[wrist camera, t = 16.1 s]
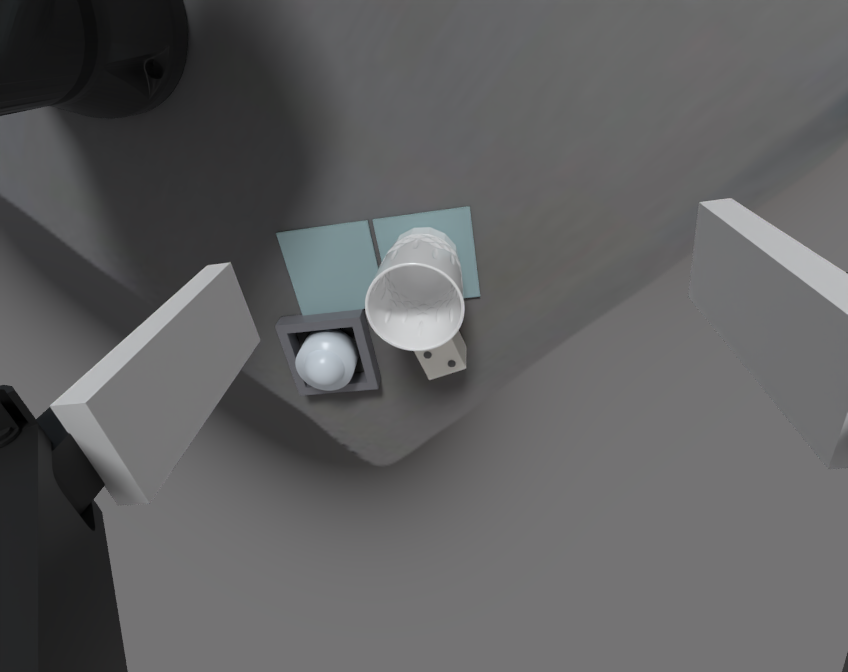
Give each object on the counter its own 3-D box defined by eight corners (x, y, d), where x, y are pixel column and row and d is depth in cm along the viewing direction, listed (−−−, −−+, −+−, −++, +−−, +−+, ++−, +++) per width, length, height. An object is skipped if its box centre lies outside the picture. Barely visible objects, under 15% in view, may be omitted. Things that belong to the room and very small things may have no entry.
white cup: (479, 239, 47) (481, 286, 38) (445, 308, 51) (440, 364, 42) (400, 206, 45) (384, 247, 37) (372, 279, 49) (352, 330, 41)
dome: (296, 330, 53) (282, 354, 49) (351, 324, 52) (341, 349, 48) (312, 376, 56) (300, 402, 52) (364, 371, 55) (355, 398, 51)
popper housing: (280, 316, 53) (274, 326, 51) (363, 307, 52) (359, 317, 50) (305, 384, 57) (299, 395, 56) (381, 378, 56) (378, 389, 54)
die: (416, 328, 52) (412, 349, 49) (451, 316, 51) (450, 336, 48) (431, 358, 54) (429, 380, 51) (466, 346, 53) (466, 369, 50)
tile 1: (276, 232, 48) (276, 233, 48) (367, 220, 47) (367, 221, 46) (303, 314, 53) (302, 315, 52) (387, 305, 51) (386, 306, 51)
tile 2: (373, 219, 47) (372, 220, 46) (469, 206, 45) (469, 207, 45) (391, 304, 51) (391, 305, 51) (480, 294, 50) (480, 296, 50)
